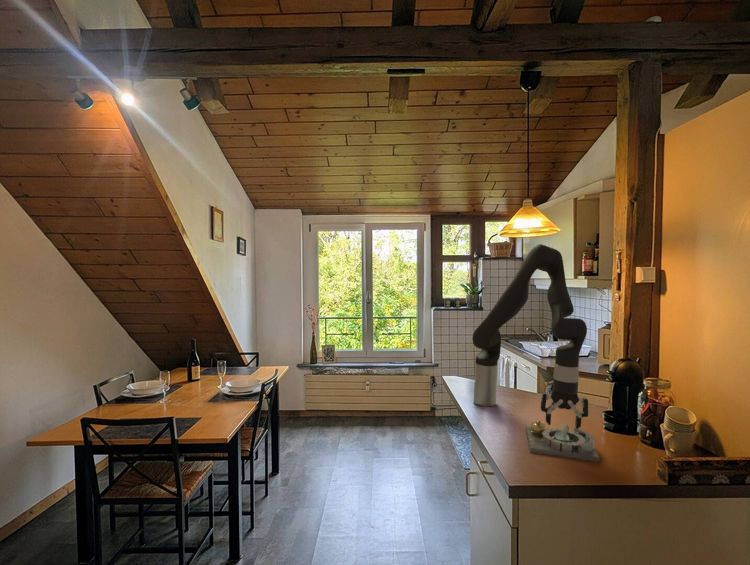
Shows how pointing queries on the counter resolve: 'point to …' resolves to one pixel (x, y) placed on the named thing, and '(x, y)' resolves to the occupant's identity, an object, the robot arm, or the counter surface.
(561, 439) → the pacifier
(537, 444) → the grey ring holder
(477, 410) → the counter surface
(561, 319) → the robot arm
